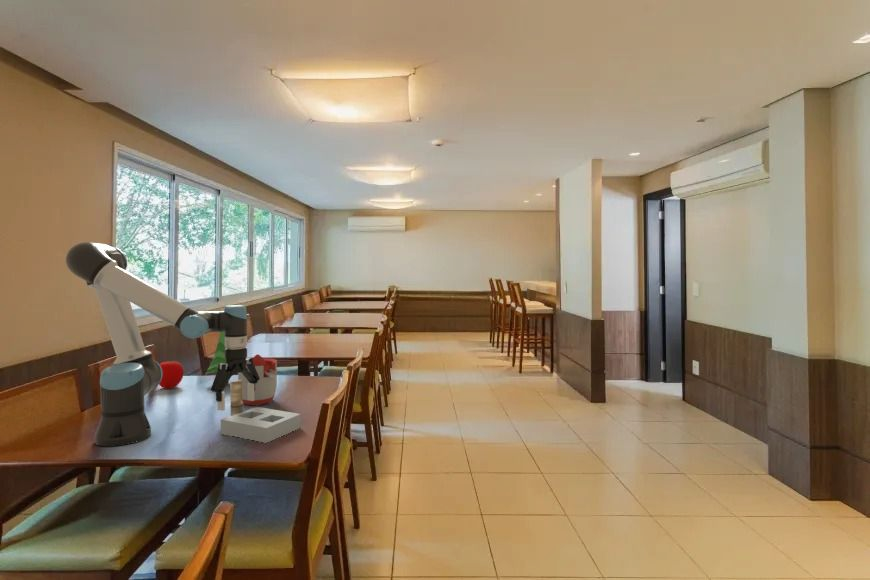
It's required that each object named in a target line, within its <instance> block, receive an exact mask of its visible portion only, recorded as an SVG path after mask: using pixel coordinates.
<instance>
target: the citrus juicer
mask: <svg viewBox="0 0 870 580" xmlns="http://www.w3.org/2000/svg"><path fill="white" fill-rule="evenodd" d="M252 358H253V364H254V366H255V368H256V371H257V373H258V375H259V378H260V379H259V380H257V381H258V382H257V383H255V391H254V401H249V400H247V383H250V382H249V381H248V380H247V379H246V377H245V376H244V375H243V374H242V373H237V380H242V404H244V405H246V406H247V405H248V406H255V405H258V406H260V405H266V404H268V403H271V402H273V400H274V398H275V395H276V394H275V393H276V391H277V382H278V373H277V372H278V366H277V365H278V360H277V359H275V358H270V357H268V358H267V357H266V358H265V357H263V356H261V355H260V354H255V355H254V357H252ZM245 366H246V367H247V365H245ZM247 369H248V367H247ZM248 371H249V370H248Z"/></svg>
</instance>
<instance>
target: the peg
mask: <svg viewBox="0 0 870 580" xmlns="http://www.w3.org/2000/svg"><path fill="white" fill-rule="evenodd" d="M229 383H230V416H232V415H235V414H238V413H241V412H244V409H243V404H244V403H243V402H242V380H238V379H234V380H233V379H232V380H231V381H230V382H229Z"/></svg>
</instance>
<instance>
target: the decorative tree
mask: <svg viewBox="0 0 870 580" xmlns="http://www.w3.org/2000/svg"><path fill="white" fill-rule="evenodd" d="M216 344H217V345H216V348H215V351H214V354H213V356H212V359H211V362H210V364H209V367H208V368H207V370H206V372H205V374H204V375H205V376H208V375H210V374H212V373H217V371H218V364H219V363H221V364H226V359H225V349H226V347H225V332H219V335H218V338H217V343H216ZM229 381H230V380H229ZM229 381H228V383H227V385H226V386H228V385H229V383H230V382H229Z"/></svg>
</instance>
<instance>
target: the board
mask: <svg viewBox="0 0 870 580" xmlns="http://www.w3.org/2000/svg"><path fill="white" fill-rule="evenodd" d="M301 423H302V416H301V413H297V412H290V411H284V410H279V409H272V408H267V407H260V406H255V407H252V408H250V409H247V410H243V412H241V413H238V414H235V415H232V416H231V415H229V416H227V417H226V416H225V417H223V418H220V435H222V434H224V435H223V436H227V435H230V436H229V437H232V436H235V437H234V438H236V437H240V438H239V439H241V438H245V439H244V440H246V439H250V440H249V441H251V440H255V441H254V442H256V441H261V442H266V443H267V442H269V441H271V440H273V439H276V438H278V437H280V438H282V437H281V436H283V435H285V436H287V435H289V434H291V433H293V432H292V431H294V430H296V431H298V430H300V429H301V428H302V424H301ZM299 428H300V429H299ZM297 429H298V430H297ZM290 432H291V433H290ZM294 432H295V431H294ZM288 433H289V434H288ZM286 434H287V435H286ZM283 437H284V436H283ZM278 439H279V438H278ZM276 440H277V439H276ZM261 442H260V443H261ZM269 443H270V442H269ZM267 444H268V443H267Z"/></svg>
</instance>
